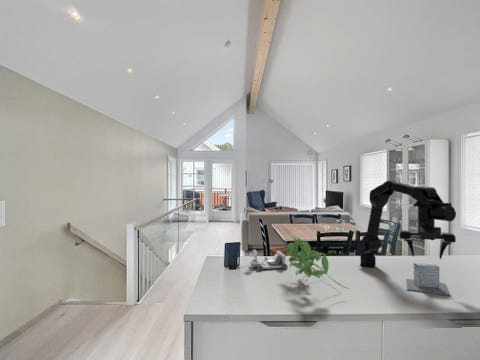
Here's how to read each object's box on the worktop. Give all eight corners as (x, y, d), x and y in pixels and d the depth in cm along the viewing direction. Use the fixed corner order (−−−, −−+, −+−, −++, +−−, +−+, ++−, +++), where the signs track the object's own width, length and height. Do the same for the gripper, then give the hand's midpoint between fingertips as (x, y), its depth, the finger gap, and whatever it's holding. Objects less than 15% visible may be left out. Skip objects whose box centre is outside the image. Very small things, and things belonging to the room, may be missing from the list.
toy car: (251, 251, 145) (246, 246, 156) (251, 272, 145) (246, 265, 156) (287, 249, 149) (279, 245, 160) (287, 270, 149) (280, 263, 160)
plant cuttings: (309, 288, 141) (271, 259, 140) (330, 258, 142) (293, 230, 141) (337, 323, 106) (287, 285, 105) (366, 283, 107) (316, 245, 106)
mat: (407, 290, 119) (407, 288, 119) (406, 279, 131) (406, 278, 131) (450, 296, 112) (450, 294, 112) (445, 284, 125) (445, 283, 125)
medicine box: (434, 284, 124) (434, 263, 124) (439, 288, 119) (439, 266, 119) (413, 283, 125) (413, 262, 125) (418, 287, 120) (418, 265, 120)
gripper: (399, 219, 119) (400, 259, 119) (457, 222, 111) (458, 265, 111) (399, 216, 129) (400, 253, 129) (453, 218, 121) (453, 258, 120)
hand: (426, 257), depth 122 cm, fingers open, 9 cm apart
